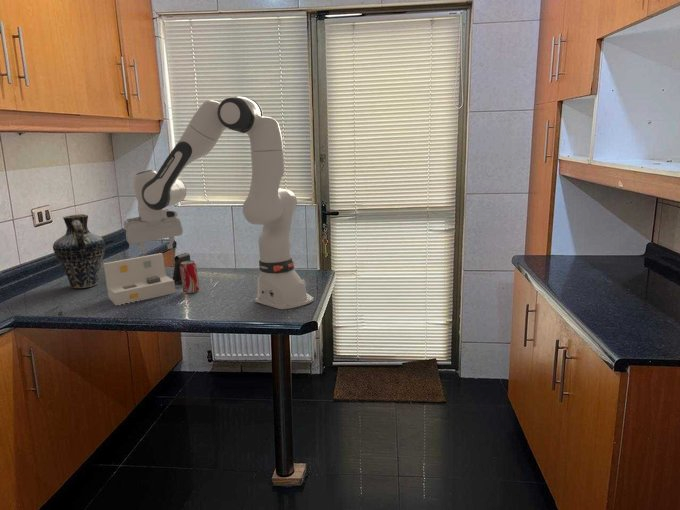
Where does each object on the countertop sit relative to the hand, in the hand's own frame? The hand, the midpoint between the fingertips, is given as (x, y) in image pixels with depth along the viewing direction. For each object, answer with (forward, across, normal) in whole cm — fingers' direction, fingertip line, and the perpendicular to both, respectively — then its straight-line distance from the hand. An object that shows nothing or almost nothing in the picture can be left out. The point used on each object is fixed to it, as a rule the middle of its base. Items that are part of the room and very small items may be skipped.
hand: (157, 251), depth 193 cm
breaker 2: (+15, -2, +6) cm, 16 cm away
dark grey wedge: (+18, +13, +12) cm, 25 cm away
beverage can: (+18, +9, -2) cm, 21 cm away
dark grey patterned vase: (+16, -20, +40) cm, 48 cm away
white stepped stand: (+17, -6, +7) cm, 20 cm away
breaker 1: (+17, -11, +6) cm, 21 cm away
